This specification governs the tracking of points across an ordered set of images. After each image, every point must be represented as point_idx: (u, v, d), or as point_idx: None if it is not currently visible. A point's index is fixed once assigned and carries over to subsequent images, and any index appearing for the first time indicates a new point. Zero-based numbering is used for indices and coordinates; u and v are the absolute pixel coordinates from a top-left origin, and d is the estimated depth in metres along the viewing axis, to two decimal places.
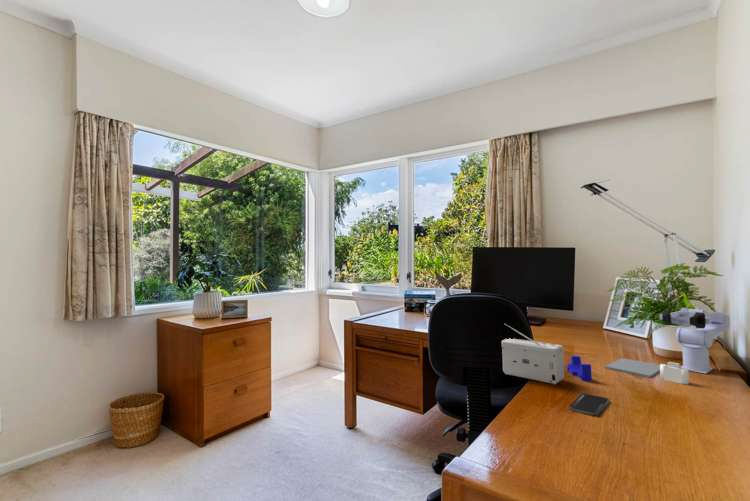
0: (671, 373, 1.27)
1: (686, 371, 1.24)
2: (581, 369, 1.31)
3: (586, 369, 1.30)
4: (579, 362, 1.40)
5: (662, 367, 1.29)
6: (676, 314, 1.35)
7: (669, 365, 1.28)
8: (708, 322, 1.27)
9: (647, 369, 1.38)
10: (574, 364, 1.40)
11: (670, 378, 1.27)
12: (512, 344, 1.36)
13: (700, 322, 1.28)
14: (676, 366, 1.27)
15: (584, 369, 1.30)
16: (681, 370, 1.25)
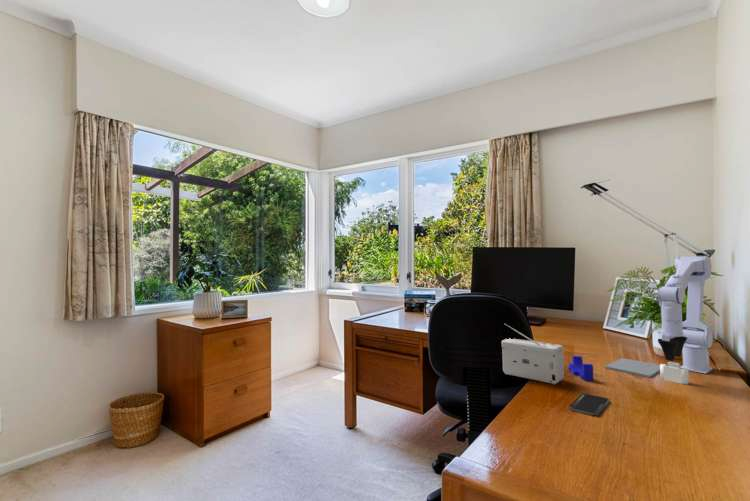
0: (671, 373, 1.27)
1: (686, 371, 1.24)
2: (583, 369, 1.31)
3: (588, 369, 1.30)
4: (581, 362, 1.40)
5: (662, 367, 1.29)
6: None
7: (669, 365, 1.28)
8: None
9: (647, 369, 1.38)
10: (576, 364, 1.40)
11: (670, 378, 1.27)
12: (512, 344, 1.36)
13: None
14: (676, 366, 1.27)
15: (586, 369, 1.30)
16: (681, 370, 1.25)
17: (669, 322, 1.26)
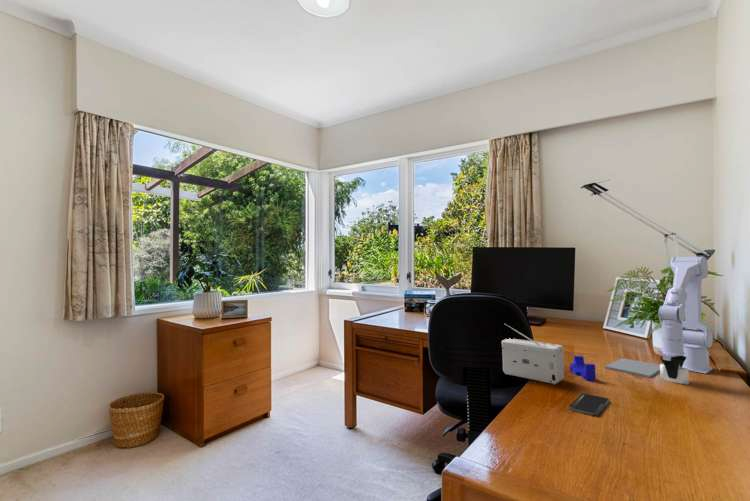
0: None
1: (686, 371, 1.24)
2: (585, 369, 1.31)
3: (590, 369, 1.30)
4: (582, 362, 1.40)
5: (662, 367, 1.29)
6: None
7: None
8: None
9: (647, 369, 1.38)
10: (577, 364, 1.40)
11: (670, 378, 1.27)
12: (512, 344, 1.36)
13: None
14: None
15: (588, 369, 1.30)
16: (681, 370, 1.25)
17: (670, 341, 1.26)
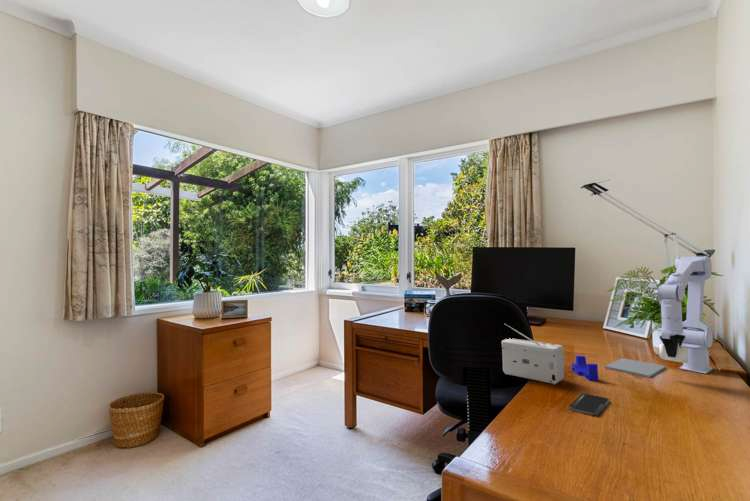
0: None
1: (685, 350, 1.24)
2: (587, 369, 1.31)
3: (592, 369, 1.30)
4: (584, 362, 1.40)
5: (661, 346, 1.29)
6: None
7: None
8: None
9: (647, 369, 1.38)
10: (579, 364, 1.40)
11: (669, 357, 1.27)
12: (512, 344, 1.36)
13: None
14: None
15: (591, 369, 1.30)
16: (680, 348, 1.25)
17: (669, 320, 1.26)
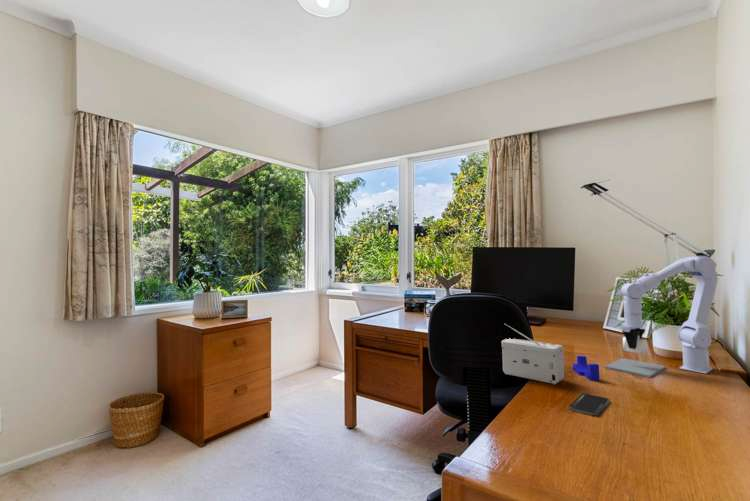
0: None
1: (644, 342, 1.39)
2: (589, 369, 1.31)
3: (594, 369, 1.30)
4: (585, 362, 1.40)
5: (624, 339, 1.44)
6: None
7: None
8: None
9: (647, 369, 1.38)
10: (580, 364, 1.40)
11: (631, 349, 1.42)
12: (512, 344, 1.36)
13: None
14: None
15: (592, 369, 1.30)
16: (640, 341, 1.40)
17: (630, 315, 1.41)
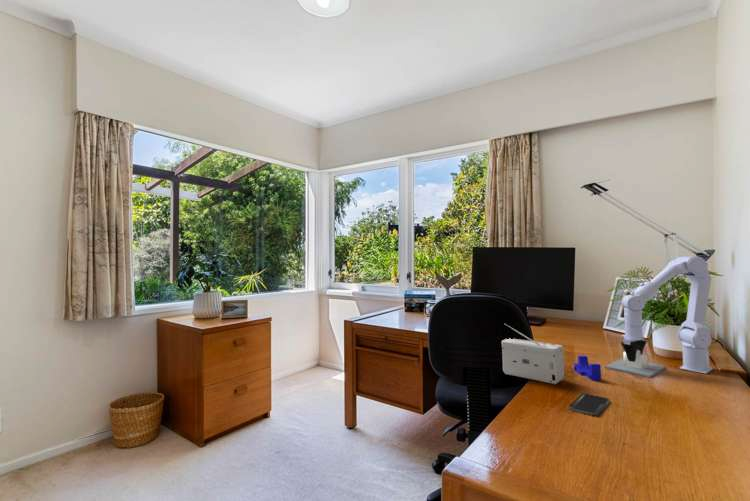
0: None
1: (645, 357, 1.39)
2: (590, 369, 1.31)
3: (595, 369, 1.30)
4: (586, 362, 1.40)
5: (625, 354, 1.44)
6: None
7: None
8: None
9: (647, 369, 1.38)
10: (581, 364, 1.40)
11: (631, 364, 1.42)
12: (512, 344, 1.36)
13: None
14: (637, 353, 1.41)
15: (594, 369, 1.30)
16: (641, 356, 1.40)
17: (630, 328, 1.41)
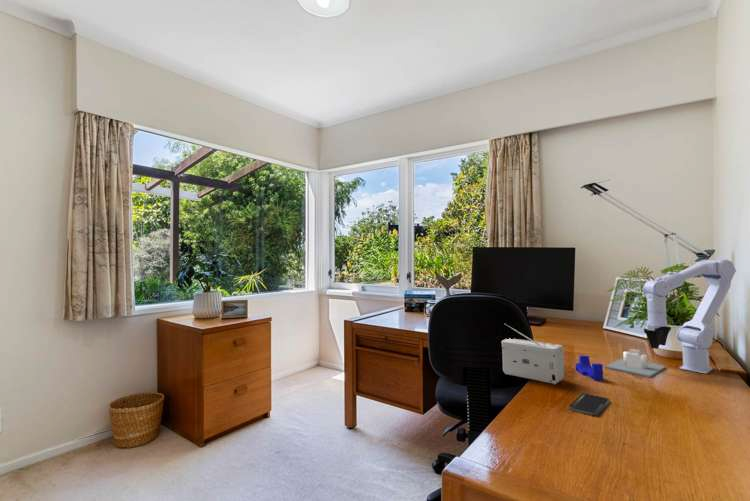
0: (632, 359, 1.42)
1: (645, 357, 1.39)
2: (593, 369, 1.31)
3: (598, 369, 1.30)
4: (588, 362, 1.40)
5: (625, 354, 1.44)
6: None
7: (631, 352, 1.43)
8: None
9: (647, 369, 1.38)
10: (583, 364, 1.40)
11: (631, 364, 1.42)
12: (512, 344, 1.36)
13: None
14: (637, 353, 1.41)
15: (596, 369, 1.30)
16: (641, 356, 1.40)
17: (654, 314, 1.37)
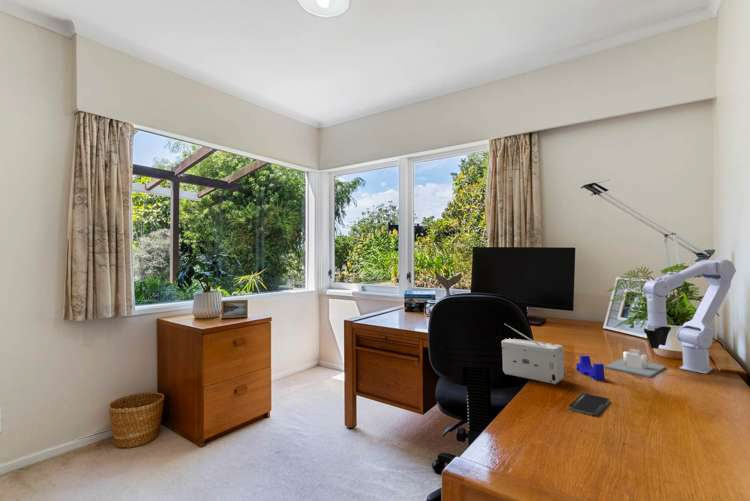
0: (632, 359, 1.42)
1: (645, 357, 1.39)
2: (594, 369, 1.31)
3: (599, 369, 1.30)
4: (589, 362, 1.40)
5: (625, 354, 1.44)
6: None
7: (631, 352, 1.43)
8: None
9: (647, 369, 1.38)
10: (584, 364, 1.40)
11: (631, 364, 1.42)
12: (512, 344, 1.36)
13: None
14: (637, 353, 1.41)
15: (597, 369, 1.30)
16: (641, 356, 1.40)
17: (654, 314, 1.37)
